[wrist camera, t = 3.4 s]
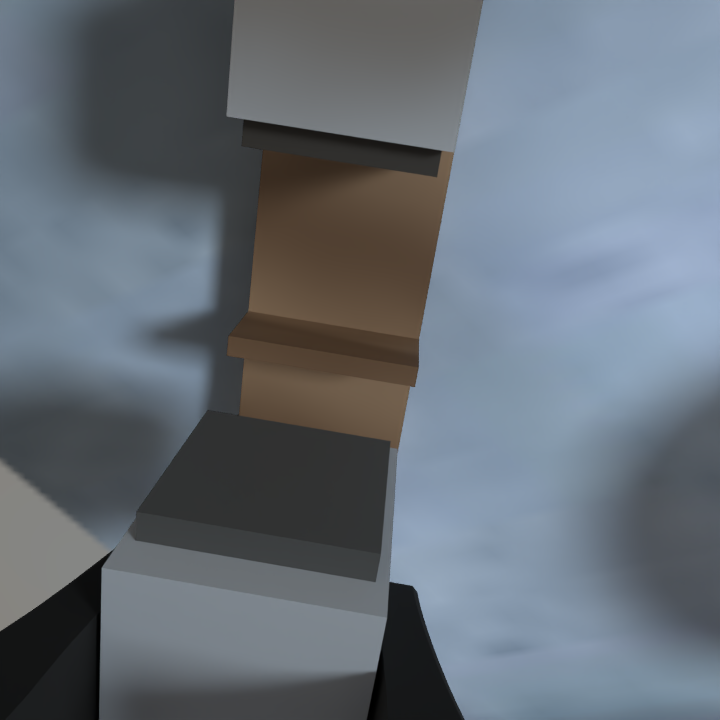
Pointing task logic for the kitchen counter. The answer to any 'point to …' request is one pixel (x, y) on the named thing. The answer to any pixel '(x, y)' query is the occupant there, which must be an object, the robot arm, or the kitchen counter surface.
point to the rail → (344, 198)
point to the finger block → (252, 578)
